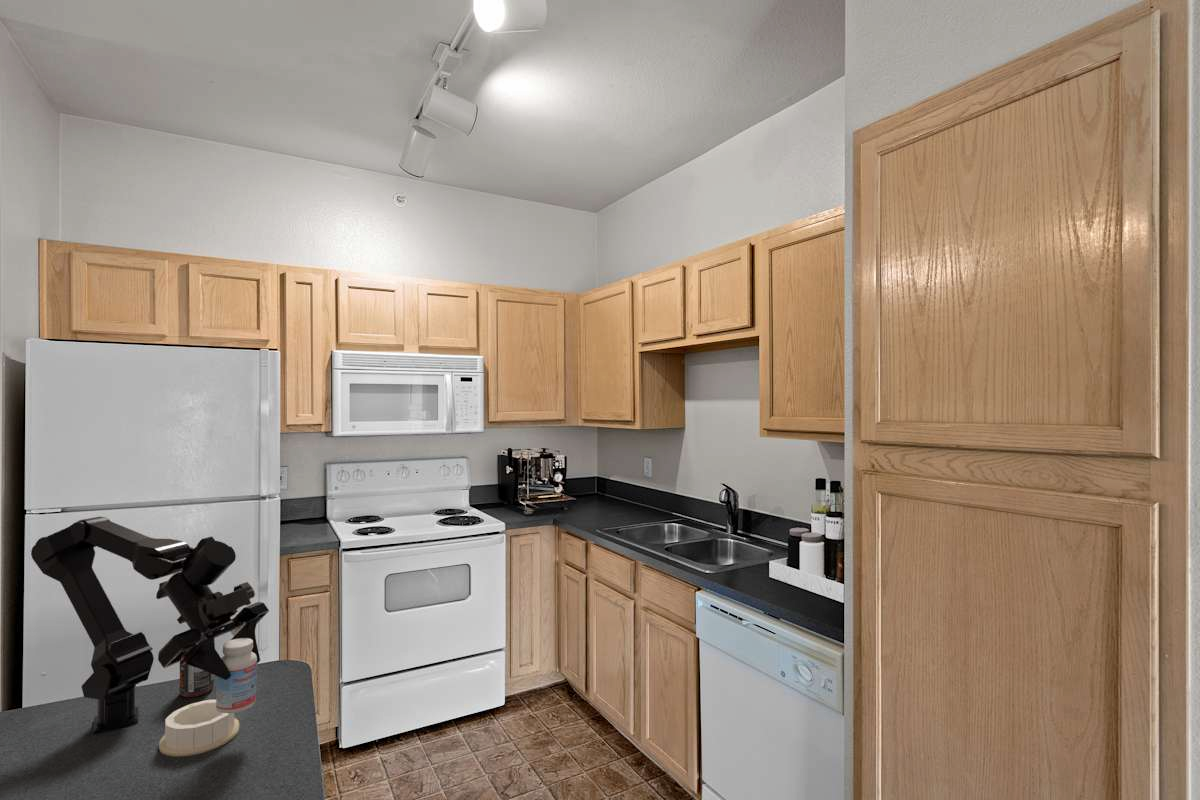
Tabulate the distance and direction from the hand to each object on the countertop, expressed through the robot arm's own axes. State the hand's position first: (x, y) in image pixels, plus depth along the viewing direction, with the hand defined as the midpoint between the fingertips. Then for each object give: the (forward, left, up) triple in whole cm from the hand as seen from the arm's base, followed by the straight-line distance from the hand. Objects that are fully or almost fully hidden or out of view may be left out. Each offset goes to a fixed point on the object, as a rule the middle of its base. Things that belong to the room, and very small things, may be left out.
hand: (243, 670), depth 107 cm
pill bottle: (-1, -1, -7) cm, 7 cm away
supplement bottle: (-28, -5, -13) cm, 31 cm away
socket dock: (-7, -6, -13) cm, 16 cm away
